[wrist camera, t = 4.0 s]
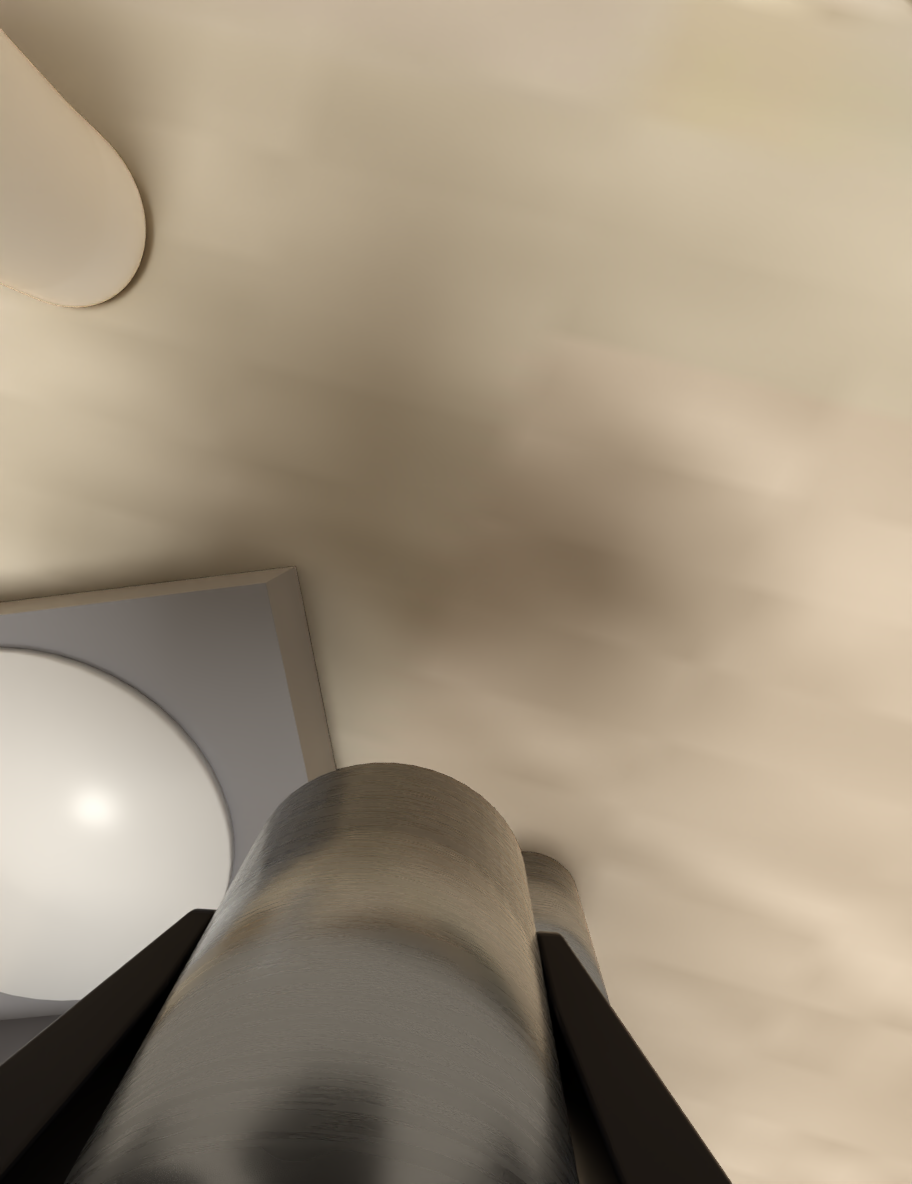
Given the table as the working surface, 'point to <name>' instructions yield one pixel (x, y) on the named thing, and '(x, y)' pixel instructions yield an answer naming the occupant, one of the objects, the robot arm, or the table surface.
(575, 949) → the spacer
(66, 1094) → the robot arm
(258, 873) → the cylinder
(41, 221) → the drinking glass
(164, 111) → the table surface
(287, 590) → the kitchen scale
